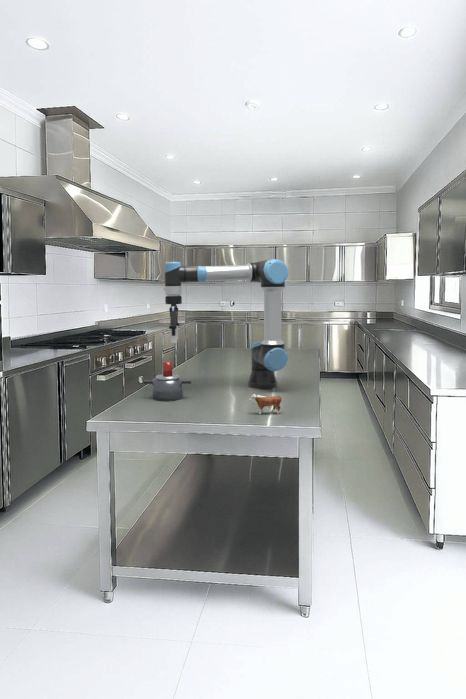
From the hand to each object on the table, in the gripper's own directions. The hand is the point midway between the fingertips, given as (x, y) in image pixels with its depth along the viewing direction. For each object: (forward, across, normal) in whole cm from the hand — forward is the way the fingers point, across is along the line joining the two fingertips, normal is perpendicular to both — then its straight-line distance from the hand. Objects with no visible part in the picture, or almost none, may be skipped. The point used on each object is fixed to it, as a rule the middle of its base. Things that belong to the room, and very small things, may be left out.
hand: (174, 341), depth 258 cm
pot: (+26, +3, -4) cm, 27 cm away
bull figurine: (+27, +35, +38) cm, 59 cm away
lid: (+17, +3, -4) cm, 18 cm away
